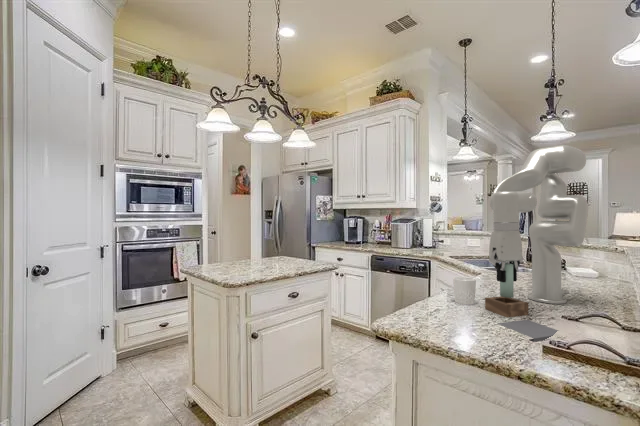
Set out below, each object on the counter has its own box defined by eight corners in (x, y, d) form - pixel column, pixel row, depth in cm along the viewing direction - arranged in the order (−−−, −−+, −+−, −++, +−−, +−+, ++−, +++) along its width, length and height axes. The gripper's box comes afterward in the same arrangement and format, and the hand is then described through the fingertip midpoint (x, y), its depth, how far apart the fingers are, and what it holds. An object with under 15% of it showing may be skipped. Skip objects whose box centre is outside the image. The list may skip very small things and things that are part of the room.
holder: (505, 309, 113) (505, 295, 113) (528, 317, 104) (528, 302, 104) (485, 312, 110) (485, 297, 110) (506, 320, 101) (506, 305, 101)
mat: (527, 322, 99) (527, 319, 99) (566, 337, 88) (566, 333, 88) (497, 326, 96) (497, 323, 96) (533, 342, 84) (533, 338, 84)
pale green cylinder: (506, 293, 110) (506, 262, 110) (516, 296, 106) (516, 264, 106) (497, 295, 109) (496, 263, 108) (507, 298, 105) (506, 265, 105)
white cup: (471, 302, 123) (471, 276, 123) (479, 308, 115) (479, 280, 115) (450, 301, 123) (450, 276, 123) (457, 307, 115) (457, 280, 115)
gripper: (515, 226, 113) (516, 277, 113) (477, 227, 108) (478, 280, 108) (535, 227, 106) (535, 281, 106) (495, 229, 101) (495, 285, 101)
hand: (506, 280), depth 107 cm, fingers closed on pale green cylinder, 4 cm apart
